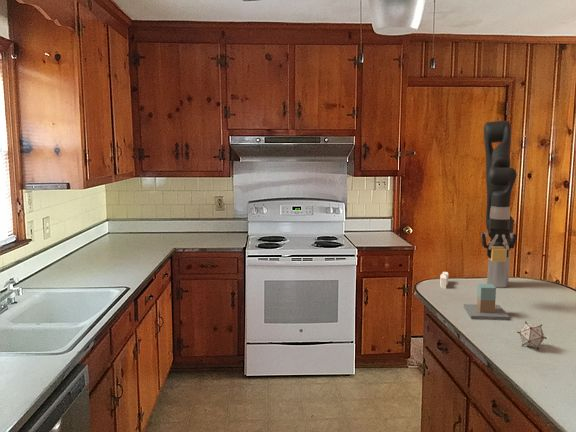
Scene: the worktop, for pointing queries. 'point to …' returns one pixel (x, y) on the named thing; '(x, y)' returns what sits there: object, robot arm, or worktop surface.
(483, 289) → the teal block
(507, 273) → the robot arm
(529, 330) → the game die
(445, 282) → the notched block
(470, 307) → the baseplate
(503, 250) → the ochre block
